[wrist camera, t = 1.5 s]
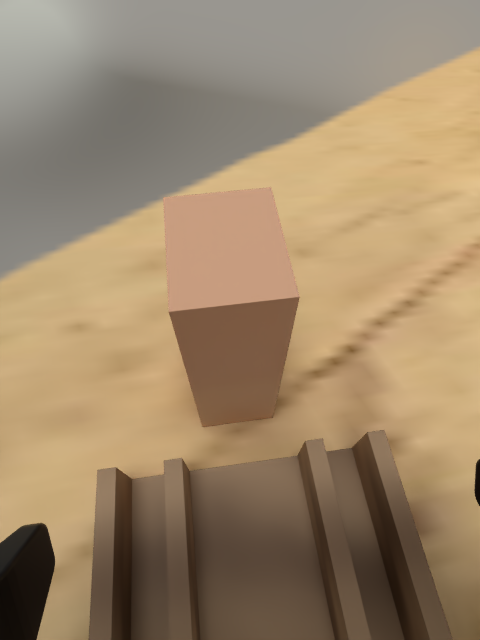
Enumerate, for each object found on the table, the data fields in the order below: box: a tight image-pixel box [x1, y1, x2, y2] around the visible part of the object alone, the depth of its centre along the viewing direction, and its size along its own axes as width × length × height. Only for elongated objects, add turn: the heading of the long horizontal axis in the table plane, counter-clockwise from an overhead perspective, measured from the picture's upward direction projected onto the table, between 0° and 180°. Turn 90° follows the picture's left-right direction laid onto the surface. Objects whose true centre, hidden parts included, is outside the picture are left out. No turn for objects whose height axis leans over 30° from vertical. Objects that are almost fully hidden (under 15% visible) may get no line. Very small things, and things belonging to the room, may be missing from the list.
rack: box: [89, 430, 453, 640], centre depth 17 cm, size 9×13×4 cm
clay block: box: [163, 187, 299, 427], centre depth 18 cm, size 5×4×12 cm
